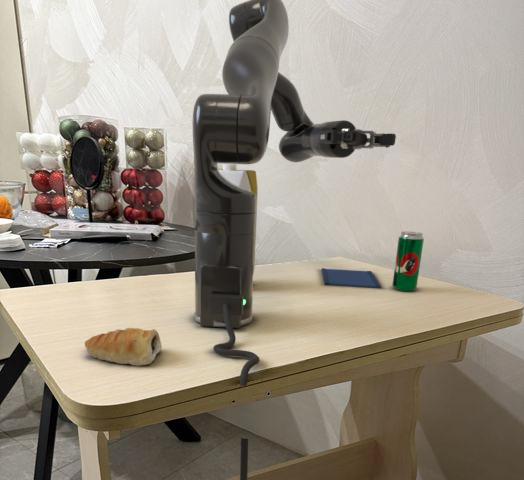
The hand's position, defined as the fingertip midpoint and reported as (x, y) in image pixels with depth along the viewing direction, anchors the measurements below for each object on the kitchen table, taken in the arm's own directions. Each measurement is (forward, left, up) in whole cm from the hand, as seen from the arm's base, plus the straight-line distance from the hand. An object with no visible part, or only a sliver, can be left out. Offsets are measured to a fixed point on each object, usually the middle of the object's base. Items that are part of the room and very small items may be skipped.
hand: (376, 138), depth 102 cm
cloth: (+8, +2, -30) cm, 31 cm away
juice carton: (-6, +28, -30) cm, 41 cm away
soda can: (0, -9, -30) cm, 31 cm away
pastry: (-49, +35, -30) cm, 68 cm away
